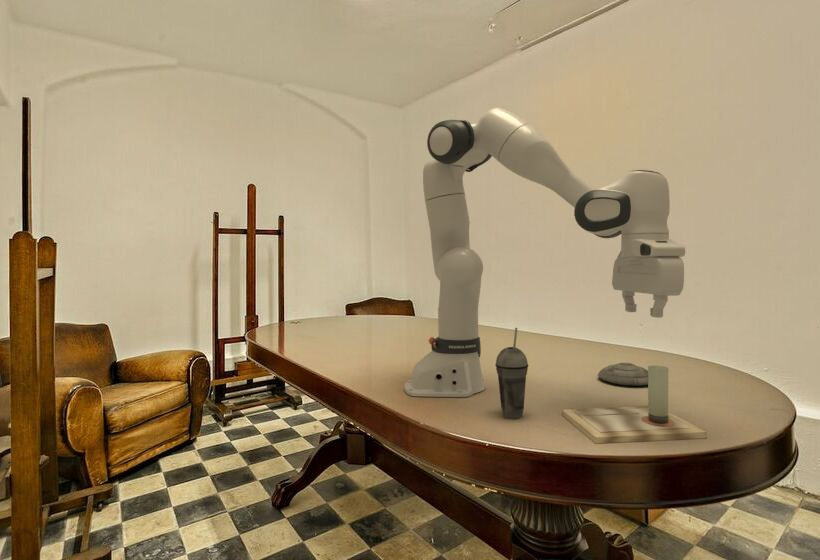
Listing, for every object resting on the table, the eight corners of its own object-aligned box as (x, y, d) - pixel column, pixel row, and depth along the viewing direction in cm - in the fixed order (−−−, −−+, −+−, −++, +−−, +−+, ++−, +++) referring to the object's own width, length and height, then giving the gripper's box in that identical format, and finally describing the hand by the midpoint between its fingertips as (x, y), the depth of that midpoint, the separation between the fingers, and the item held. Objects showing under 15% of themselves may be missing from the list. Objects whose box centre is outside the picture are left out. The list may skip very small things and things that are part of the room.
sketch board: (595, 443, 84) (595, 435, 84) (561, 415, 100) (561, 408, 100) (706, 438, 86) (706, 430, 86) (655, 410, 102) (655, 404, 102)
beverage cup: (492, 411, 104) (490, 326, 103) (522, 409, 105) (521, 324, 104) (501, 422, 97) (499, 330, 96) (534, 420, 97) (532, 329, 97)
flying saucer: (605, 388, 121) (605, 368, 121) (592, 374, 136) (591, 357, 135) (665, 389, 118) (665, 369, 118) (644, 375, 133) (644, 357, 133)
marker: (655, 424, 89) (654, 370, 89) (644, 418, 93) (644, 365, 93) (672, 423, 90) (672, 369, 89) (661, 417, 93) (661, 365, 93)
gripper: (605, 250, 103) (604, 309, 104) (658, 246, 83) (657, 320, 84) (631, 250, 104) (630, 309, 104) (691, 246, 83) (689, 320, 84)
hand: (643, 314), depth 94 cm, fingers open, 8 cm apart
